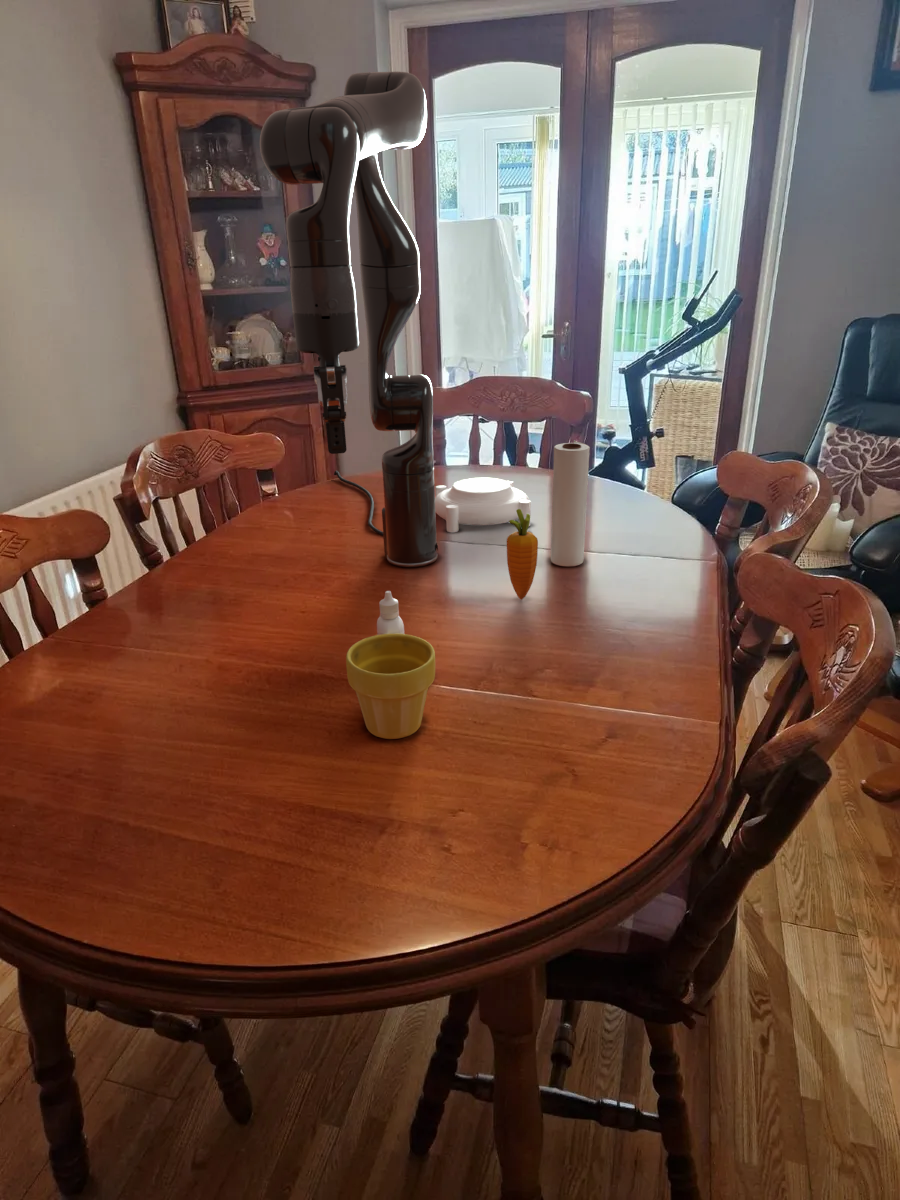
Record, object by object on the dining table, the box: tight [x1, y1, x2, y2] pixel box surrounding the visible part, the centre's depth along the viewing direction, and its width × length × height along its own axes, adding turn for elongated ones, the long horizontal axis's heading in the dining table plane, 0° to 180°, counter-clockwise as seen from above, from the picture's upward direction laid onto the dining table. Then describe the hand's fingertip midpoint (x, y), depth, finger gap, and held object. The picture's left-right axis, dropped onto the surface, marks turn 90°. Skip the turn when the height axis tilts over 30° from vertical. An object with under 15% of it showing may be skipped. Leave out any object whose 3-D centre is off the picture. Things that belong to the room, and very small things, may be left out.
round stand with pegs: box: [435, 476, 532, 533], centre depth 162 cm, size 24×24×7 cm
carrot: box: [506, 509, 539, 601], centre depth 120 cm, size 5×5×15 cm
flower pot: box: [345, 633, 436, 740], centre depth 89 cm, size 10×10×10 cm
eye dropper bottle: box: [376, 590, 405, 635], centre depth 98 cm, size 4×6×12 cm
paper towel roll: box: [550, 439, 591, 567], centre depth 134 cm, size 7×6×21 cm
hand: (336, 444), depth 96 cm, fingers open, 8 cm apart
